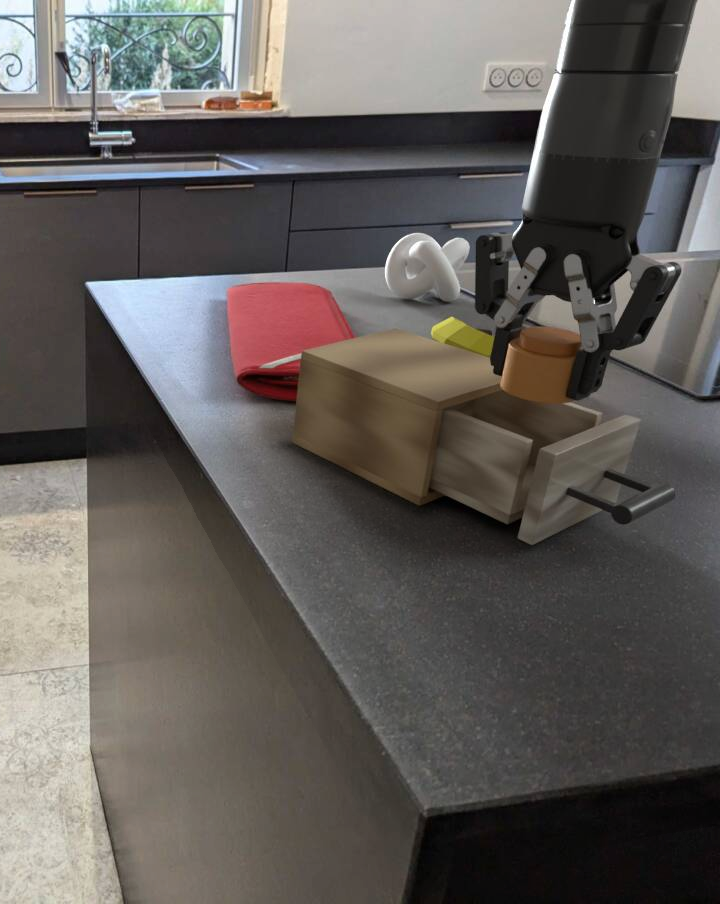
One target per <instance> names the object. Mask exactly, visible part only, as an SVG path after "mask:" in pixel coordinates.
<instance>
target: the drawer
mask: <svg viewBox="0 0 720 904" xmlns="http://www.w3.org/2000/svg"><path fill="white" fill-rule="evenodd" d="M602 417H603V412H601V411H598V410H594V409H592V408H588V407H585V406H583V405H579V404H576V403H573V402H568V403H558V404H553V403H540V402H534V401H529V400H525V399H521V398H518V397H515V396H513V395H511V394H509V393H507V392H505V391H504V390H500V391H497V392H494V393H491V394H488V395H485V396H482V397H479V398H476V399H473V400H470V401H467V402H464V403H460V404H457V405H454V406H451V407H448V408H445V409H443V413H442V419H441V424H440V429H439V435H438V440H437V445H436V451H435V456H434V461H433V467H432V472H431V477H430V483H429V488H431V489H434V490H436V491H438V492H440V493H442V494H444V495H445V496H446V497H449V498H450V499H453V500H455V501H457V502H458V503H461V504H463V505H465V506H467V507H470V508H472V509H473V510H476V511H478V512H480V513H482V514H485V515H486V516H489V517H491V518H493V519H494V520H497V521H499V522H501V523H503V524H505V525H510V524H511V523H514V522H516V521H518V520H520V519H521V523H520V527H519V531H518V534H517V539H518V540H520V541H522V542H524V543H526V544H529V545H531V546H533V545H535V544H537V543H539V542H542V541H543V540H546V539H547V538H550V537H551V536H553V535H556V534H558V533H559V532H561V531H563V530H566V529H568V528H569V527H571V526H574V525H576V524H578V523H580V522H582V521H584V520H586V519H588V518H590V517H592V516H593V515H596V514H598V513H600V512H602V511H604V512H607V513H610V515H611V518H612V520H613V521H614V522H616V523H617V524H619V525H628V524H630V523H632V522H634V521H636V520H638V519H640V518H641V517H643V516H646V515H647V514H649V513H651V512H653V511H655V510H657V509H659V508H660V507H661V508H662V506H665V505H666V504H669V503H670V502H672V501H674V499H675V498H676V489H675V488H674V487H673V486H672V485H671V484H668V483H667V482H666V483H664V482H662V483H657V484H656V485H654V484H651V483H648V482H646V481H643V480H641V479H637V478H635V477H632V476H630V475H627V474H626V472H627V468H628V465H629V461H630V458H631V455H632V452H633V449H634V445H635V441H636V438H637V434H638V433H639V428H640V425H641V421H642V419H640V418H638V417H635V416H633V415H628V414H623V415H622V416H619V417H616V418H614V419H611V420H608V421H606V422H604V423H601V421H602ZM622 486H625V487H628V488H631V489H632V490H636V491H638V492H640V493H639V494H636V495H634V496H632V497H629V498H628V499H626V500H624V501H622V502H620V503H617V502H618V498H619V496H620V495H619V494H620V491H621V488H622Z"/></svg>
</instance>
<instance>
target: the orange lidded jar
mask: <svg viewBox="0 0 720 904" xmlns="http://www.w3.org/2000/svg"><path fill="white" fill-rule="evenodd" d="M580 349H583V348H582V345H581V338H580V333H577V332H575V331H572V330H569V329H564V328H559V327H553V326H528V327H527V328H524V329H522V330H521V332H520V336H519V338H516V339H513V340H511V341H510V342H509V346H508V350H507V355H506V360H505V364H504V369H503V374H502V378H501V383H500V386H501V388H502V389H503V390H504V391H505V392H507V393H509V394H511V395H513V396H515V397H518V398H521V399H525V400H529V401H534V402H540V403H553V404H558V403H568V402H570V403H573V402H575V401H576V400H573V399H570V398H567V396H566V394H567V390H568V386H569V382H570V378H571V374H572V370H573V366H574V362H575V358H576V354H577V350H580Z"/></svg>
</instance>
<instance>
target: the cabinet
mask: <svg viewBox="0 0 720 904" xmlns="http://www.w3.org/2000/svg"><path fill="white" fill-rule="evenodd" d="M493 368H494V366H491V363H490V357H486V356H483V355H480V354H477V353H473V352H470V351H467V350H464V349H460V348H457V347H454V346H451V345H448V344H444V343H441V342H438V341H435V340H433V339H432V338H428V337H425V336H421V335H419V334H415V333H412V332H409V331H405V330H403V329H398V328H397V327H396V328H391V329H387V330H384V331H379V332H375V333H371V334H367V335H361V336H358V337H356V338H353V339H349V340H345V341H341V342H337V343H332V344H328V345H324V346H320V347H316V348H311V349H307V350H303V351H302V354H301V362H300V372H299V381H298V391H297V401H295V402H296V403H295V411H294V421H293V430H292V441H291V443H292V444H294V445H296V446H298V447H300V448H303V449H304V450H307V451H309V452H310V453H313V454H314V455H317V456H318V457H321V458H323V459H324V460H326V461H329V462H331V463H332V464H335V465H337V466H339V467H341V468H343V469H344V470H346V471H349V472H350V473H352V474H355V475H357V476H358V477H361V478H362V479H365V480H366V481H369V482H371V483H373V484H375V485H377V486H378V487H380V488H382V489H385V490H387V491H388V492H391V493H393V494H395V495H397V496H399V497H401V498H403V499H405V500H407V501H409V502H410V503H413V504H415V505H416V506H419V507H420V506H422V505H425V504H427V503H430V502H433V501H436V500H438V499H440V498H442V497H445V496H446V495H444V494H442V493H440V492H438V491H436V490H434V489H431V488H429V483H430V477H431V472H432V467H433V461H434V456H435V451H436V445H437V440H438V435H439V429H440V424H441V419H442V413H443V409H445V408H448V407H451V406H454V405H457V404H460V403H464V402H467V401H470V400H473V399H476V398H479V397H482V396H485V395H488V394H491V393H494V392H497V391H500V390H503V389H502V388H501V386H500V383H501V378H502V377H501V376H498V375H495V374H494V373H493Z"/></svg>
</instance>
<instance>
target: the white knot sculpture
mask: <svg viewBox="0 0 720 904" xmlns="http://www.w3.org/2000/svg"><path fill="white" fill-rule="evenodd" d="M470 249H471V247H470V243H469V241H467V240H466V239H465V238H463V237H455V238H453V239H450V240H448V241H447V242H446V243H445V244H444V245H442V246H440V244H439V243H438V242H437V241H436V240H435V239H434V238H433V237H432V236H431V235H428V234H426V233H422V232H413V233H409V234H407V235H405V236H403V237H401V238H400V239H399V240H398V241H397V242H396V243H395V244H394V246H393V247H392V248H391V251H390V252H389V254H388V256H387V259H386V261H385V262H386V263H385V268H384V277H385V281H386V285H387V287H388V288H389V290H390V291H391V293H393V294H394V295H395V296H397V297H398V298H401V299H404V300H414V299H417V298H419V297H422V296H424V295H426V294H428V293H429V292H430V291H433V290H434V291H435V293H436V295H437V297H438V298H439V299H440V300H442V302H446V303H451V302H453V301H456V300H457V299H458V298H459V297H460V294H461V285H460V282H459V279H458V276H457V274H456V272H457V271H458V270H459V269H460V268H461V267H462V266H463V264H464V263H465V261H466V260H467V258H468V256H469V253H470Z"/></svg>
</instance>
